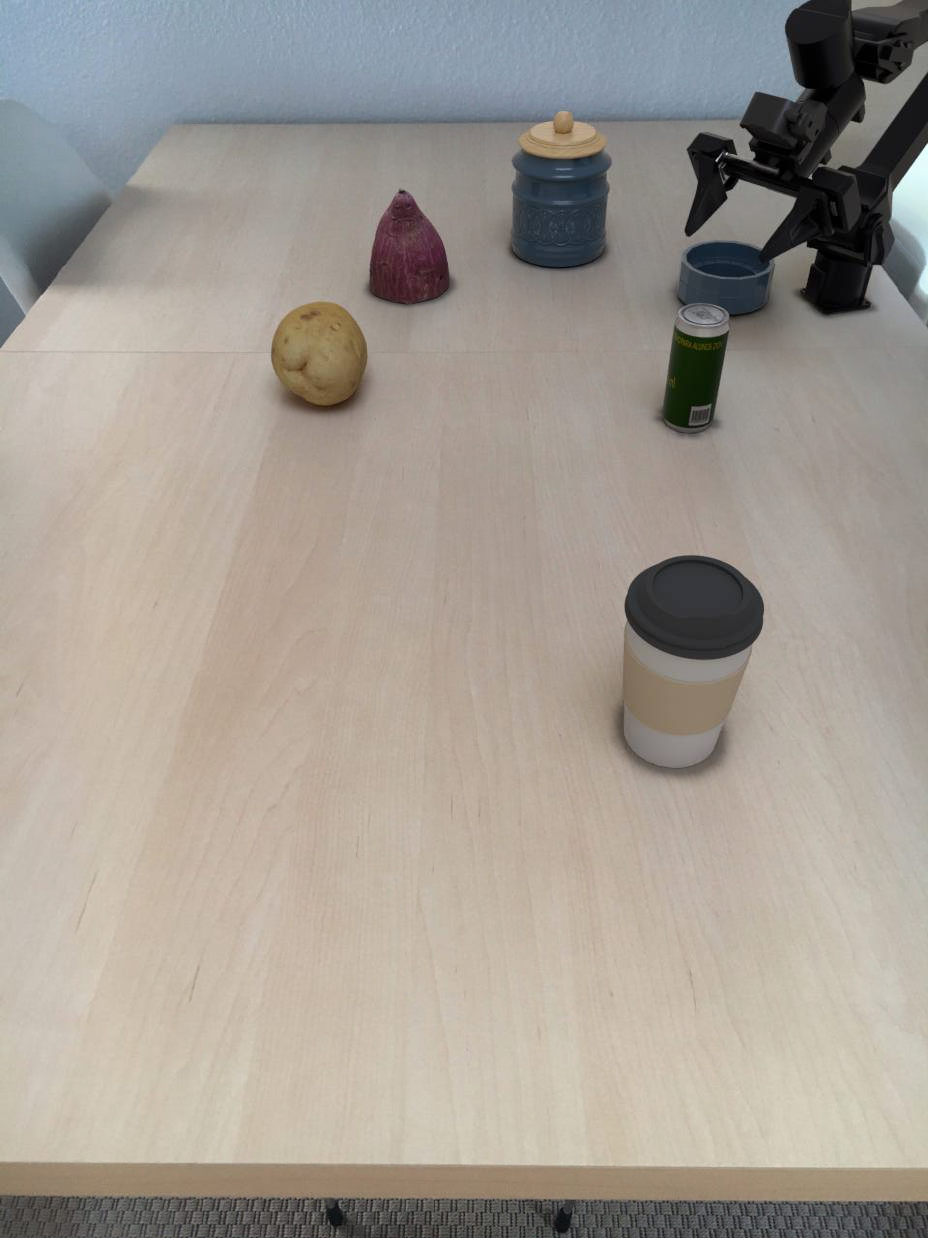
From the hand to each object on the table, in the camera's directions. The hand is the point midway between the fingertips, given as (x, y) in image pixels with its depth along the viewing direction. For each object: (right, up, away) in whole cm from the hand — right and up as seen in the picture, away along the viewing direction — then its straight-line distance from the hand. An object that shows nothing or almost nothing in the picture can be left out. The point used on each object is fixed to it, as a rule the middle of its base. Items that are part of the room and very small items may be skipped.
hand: (722, 247), depth 101 cm
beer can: (-3, -17, +4) cm, 18 cm away
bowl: (+6, +3, +24) cm, 25 cm away
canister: (-13, +13, +36) cm, 40 cm away
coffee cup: (-11, -47, -27) cm, 55 cm away
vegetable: (-33, +5, +28) cm, 44 cm away
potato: (-42, -13, +10) cm, 45 cm away
